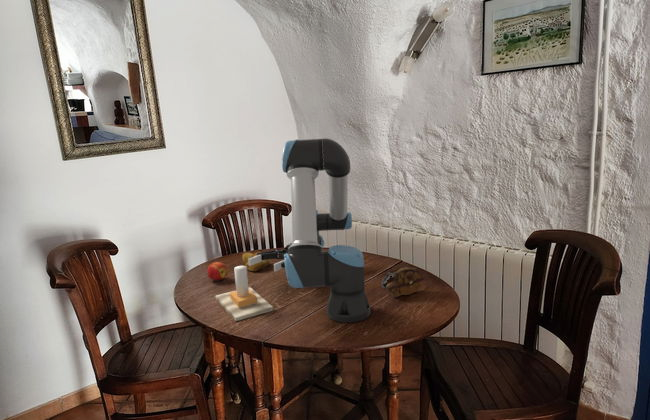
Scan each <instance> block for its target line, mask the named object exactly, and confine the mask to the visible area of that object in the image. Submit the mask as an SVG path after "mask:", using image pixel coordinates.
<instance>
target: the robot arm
mask: <svg viewBox="0 0 650 420" xmlns="http://www.w3.org/2000/svg"><path fill="white" fill-rule="evenodd" d="M281 161H282V162H281V163H282V165H281V167H282V172H283V173H286V177H287V178H288V179H289V180H290V185H291V187H290V193H291V194H290V195H291V231H292V238H291V239H292V242H291V243H288V244H287V245H286V246H285V247H284V249H281V250H279V248H275V249H271V250H266V251H260V253H257V252H256V253H257V256H255V257H252V258H250V259H248V262H249V266H251V265H254V264H256V263H259V262H261V261H262V260H268V259H270V260H274V259H275V260H280V261H278V262H276V263H273V271H274V272H278V271H280V270H282V269H285V276H286V279H287V283H288V285H289V286H290V287H291V288H294V289H298V288H299V289H304V288H321V287H324V288H325V287H330V294H329V297H328V301H327V303H326V316H327V317H328V318H329V319H330V320H332V321H334V322H338V323H345V324H346V323H347V324H350V323H357V322H358V323H359V322H361V321H363V320H366V319H367V318H369V316H370V315H371V305H370V302H369V300H368V296H367V294H366V291H365V290H366V289H365V285H366V284H365V261H364V259H365V258H364V254H363V252H362V251H361V250H360V249H359V248H357V247H355V246H351V245H344V244H338V245H337V244H336V245H331V246H330V247H329V248H328V250H327V251H323V248H324V246H325V240H324V238H323V236H322V235H320V232H323V231H324V232H325V231H327V232H328V231H344V230H350V229H353V228H352V227H353V221H352V220H353V218H352V213H351V212H348V189H349V188H348V187H349V186H348V182H349V181H348V178H349V177H348V176H349V174H350V173H351V161H350V156H349V155H348V152H347V151H346V150H345V148H344V147H343V146H342V145H341V144H340V143H338V142H337V141H336V140H334V139H330V138H325V137H323V138H313V139H312V138H311V139H294V140H288V141H286V142H285V143H284V146H283V150H282V160H281ZM321 171H325V173H326V175H327V177H328V178H327V179H328V180H327V181H328V182H327V183H328V201H329V202H328V203H329V204H328V205H329V213H328V212H327V213H325V212H324V213H319V212H318V209H317V205H316V204H317V201H316V181H315V180H316V179H317V178H318V177H319V172H321Z"/></svg>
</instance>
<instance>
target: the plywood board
mask: <svg viewBox="0 0 650 420" xmlns="http://www.w3.org/2000/svg"><path fill="white" fill-rule="evenodd" d="M248 289H249V290H250V291H251V292H252V293H253V294H254V295H255V296H257V303H256V304H252V305H249V306H245V307H241V308H238V307H237V305H236V304H235V303H234V302H233V301H232V300H231V299H230V292H233V291H234V290H232V291H229V292H224V293H221V294H217V295H215V299H216V301H217V302H218V303H219V304H220V305H221V306H222V307H223V308H224V310H225V311H226V312H227V313H228V314H229V315H230V316H231V317H232V319H233V320H234V321H235V322H237V321H241V320H245V319H248V318H252V317H256V316H258V315H261V314H266V313H269V312H272V311H274V306H273V305H272V304H270V303H269V302H268V301H267V300H265V298H264V297H262V296H261V295H260V294H259V293H258V292H257V291H255V289H253V288H252V287H251V286H248Z"/></svg>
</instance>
